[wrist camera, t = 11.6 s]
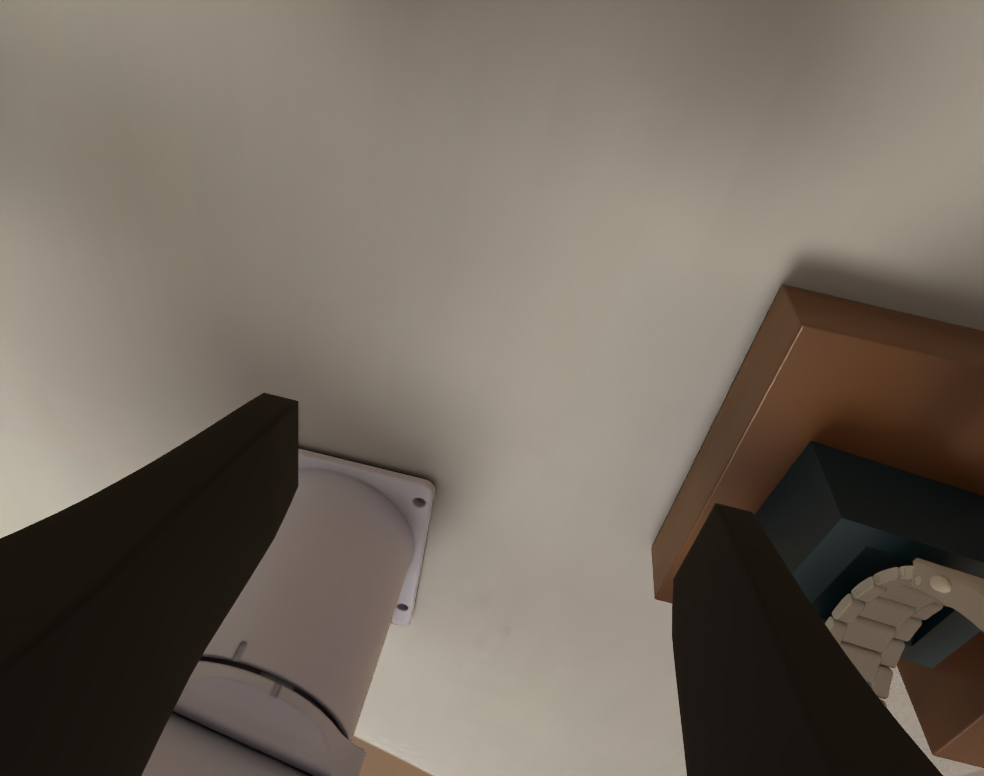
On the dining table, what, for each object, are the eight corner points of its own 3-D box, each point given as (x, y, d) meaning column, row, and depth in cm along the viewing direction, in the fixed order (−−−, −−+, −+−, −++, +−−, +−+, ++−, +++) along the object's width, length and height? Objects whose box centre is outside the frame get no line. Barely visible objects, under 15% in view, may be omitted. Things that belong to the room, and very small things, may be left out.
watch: (712, 570, 22) (778, 984, 13) (845, 394, 18) (1084, 850, 9) (862, 617, 23) (1026, 1057, 14) (1033, 455, 18) (1456, 963, 9)
